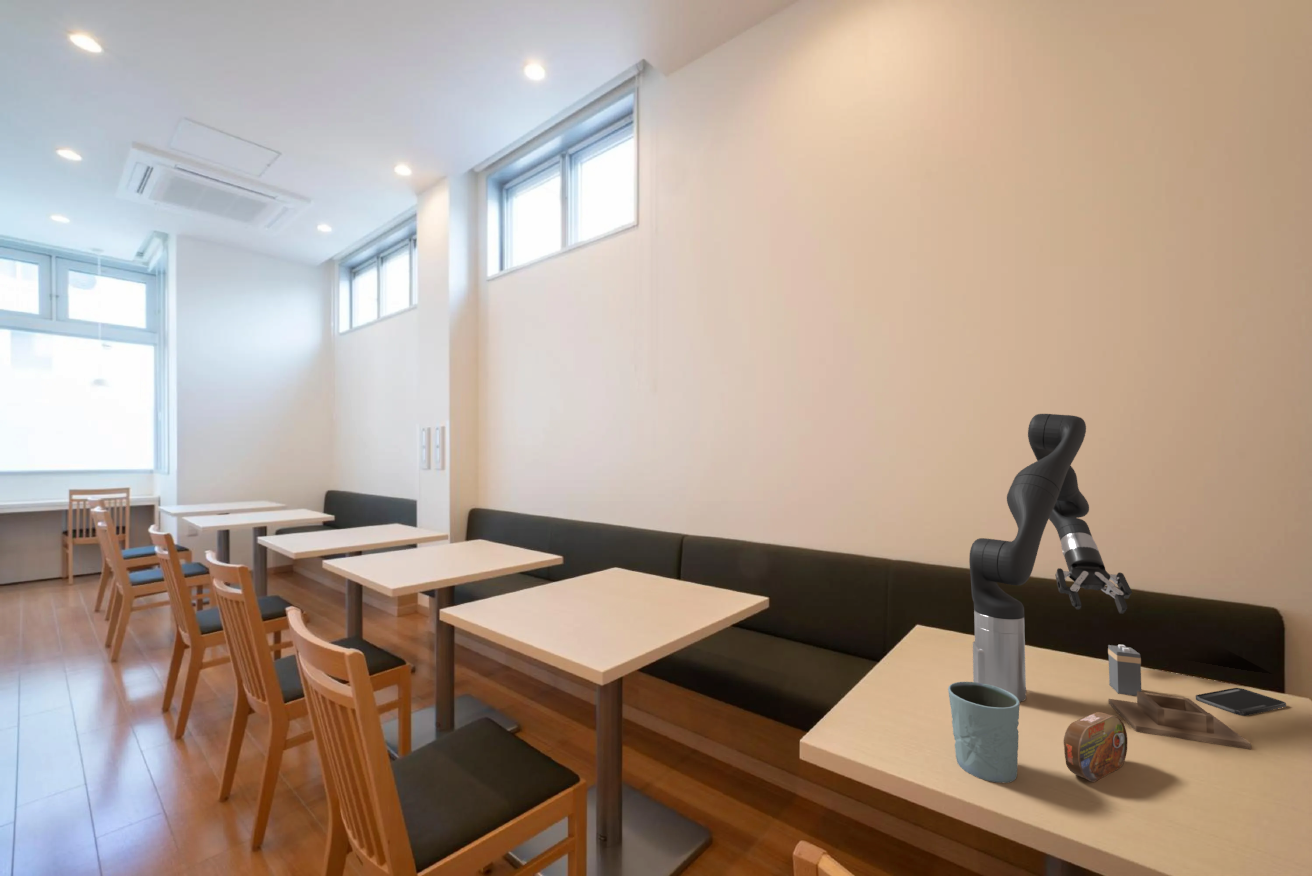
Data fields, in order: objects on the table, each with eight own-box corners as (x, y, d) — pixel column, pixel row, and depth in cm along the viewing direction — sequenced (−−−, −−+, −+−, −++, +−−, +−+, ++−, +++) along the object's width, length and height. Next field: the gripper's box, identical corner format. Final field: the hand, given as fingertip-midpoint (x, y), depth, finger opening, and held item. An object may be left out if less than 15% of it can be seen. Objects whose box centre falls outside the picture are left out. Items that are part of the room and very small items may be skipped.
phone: (1192, 695, 112) (1238, 687, 116) (1192, 701, 112) (1238, 692, 116) (1242, 713, 104) (1289, 703, 108) (1242, 718, 104) (1289, 708, 108)
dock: (1136, 731, 98) (1135, 709, 99) (1108, 703, 109) (1108, 684, 110) (1251, 749, 92) (1250, 726, 93) (1209, 718, 104) (1208, 697, 104)
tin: (1082, 788, 81) (1081, 733, 82) (1060, 777, 84) (1058, 724, 85) (1130, 763, 88) (1129, 712, 88) (1107, 754, 91) (1106, 704, 91)
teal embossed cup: (1023, 793, 80) (1021, 714, 80) (947, 772, 85) (946, 697, 86) (1019, 761, 89) (1017, 689, 89) (950, 743, 94) (949, 676, 94)
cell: (1118, 693, 114) (1116, 649, 115) (1109, 685, 118) (1107, 642, 119) (1142, 696, 113) (1140, 651, 113) (1131, 688, 117) (1130, 644, 117)
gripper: (1052, 543, 139) (1068, 598, 128) (1119, 547, 133) (1143, 604, 122) (1046, 560, 143) (1061, 614, 132) (1111, 564, 138) (1132, 621, 127)
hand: (1100, 609), depth 127 cm, fingers open, 8 cm apart
